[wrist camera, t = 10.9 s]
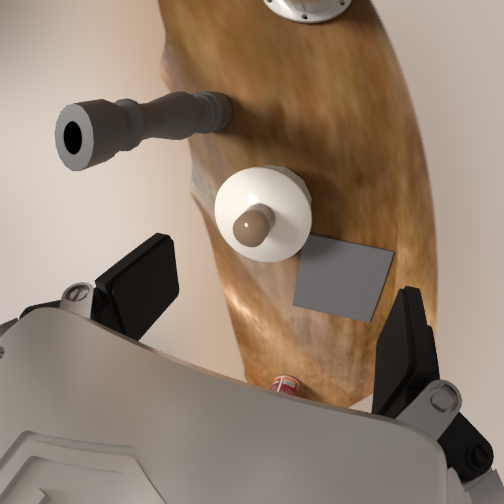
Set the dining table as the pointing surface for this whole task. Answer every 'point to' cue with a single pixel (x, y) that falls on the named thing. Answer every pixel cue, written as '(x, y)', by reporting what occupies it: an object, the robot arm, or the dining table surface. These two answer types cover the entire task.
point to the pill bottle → (286, 385)
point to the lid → (263, 214)
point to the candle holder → (134, 124)
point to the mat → (341, 277)
